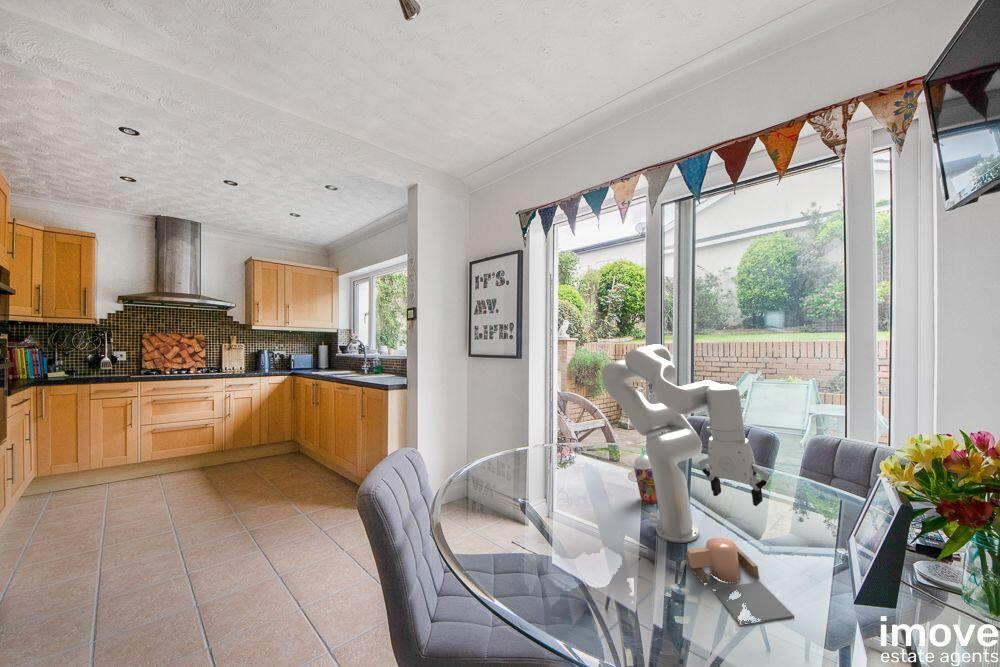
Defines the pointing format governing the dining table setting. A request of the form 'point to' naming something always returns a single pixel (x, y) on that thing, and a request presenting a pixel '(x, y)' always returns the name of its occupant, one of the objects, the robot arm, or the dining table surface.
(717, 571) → the rounded block with tab
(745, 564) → the holder
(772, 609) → the mat
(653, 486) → the smoothie
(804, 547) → the dining table surface
